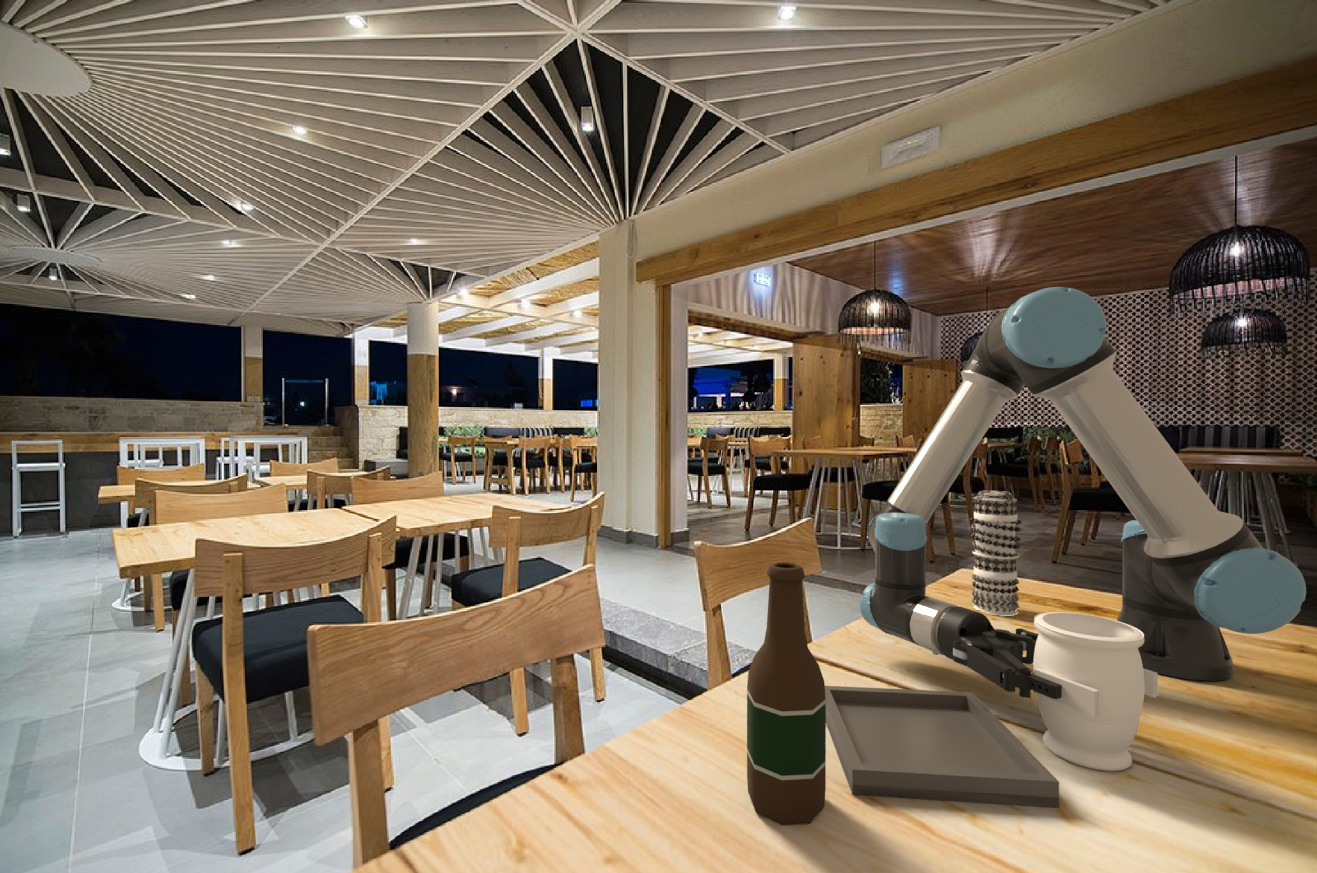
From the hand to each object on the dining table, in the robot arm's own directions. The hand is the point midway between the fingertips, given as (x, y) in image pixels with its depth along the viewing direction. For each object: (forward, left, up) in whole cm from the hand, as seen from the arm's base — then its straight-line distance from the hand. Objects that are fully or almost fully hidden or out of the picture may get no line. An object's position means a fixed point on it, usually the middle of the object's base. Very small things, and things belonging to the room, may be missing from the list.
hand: (1127, 694), depth 64 cm
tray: (+21, -3, -9) cm, 23 cm away
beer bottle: (+38, +9, -9) cm, 40 cm away
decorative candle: (-13, -60, -9) cm, 62 cm away
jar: (+2, -4, -9) cm, 10 cm away
